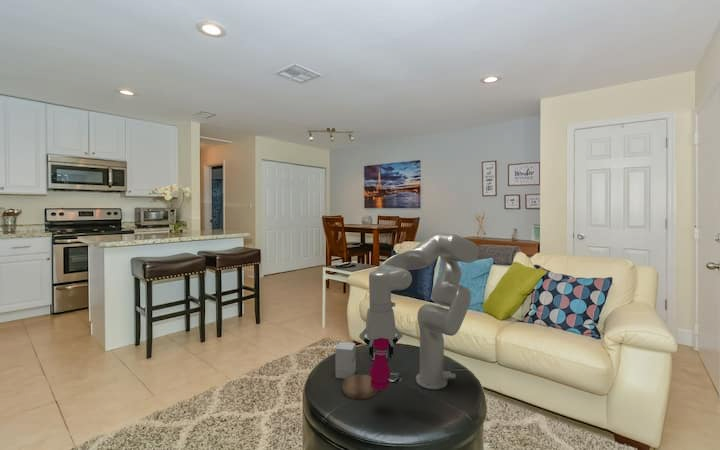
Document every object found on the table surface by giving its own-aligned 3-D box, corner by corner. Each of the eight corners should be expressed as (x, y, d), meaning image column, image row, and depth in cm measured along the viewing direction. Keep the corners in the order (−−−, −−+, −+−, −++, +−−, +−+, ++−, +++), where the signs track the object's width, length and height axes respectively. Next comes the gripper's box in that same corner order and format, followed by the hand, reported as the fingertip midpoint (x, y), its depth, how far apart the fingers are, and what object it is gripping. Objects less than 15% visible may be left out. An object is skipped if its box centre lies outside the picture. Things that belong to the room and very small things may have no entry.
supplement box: (352, 379, 147) (352, 350, 146) (335, 378, 149) (334, 348, 148) (356, 371, 155) (355, 342, 154) (339, 369, 156) (339, 341, 155)
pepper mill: (365, 386, 125) (367, 330, 124) (376, 378, 131) (378, 324, 130) (383, 393, 121) (385, 335, 120) (393, 384, 127) (395, 329, 126)
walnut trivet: (377, 379, 147) (377, 374, 147) (379, 399, 133) (379, 392, 133) (343, 380, 147) (342, 374, 146) (341, 399, 133) (341, 393, 133)
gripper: (403, 302, 128) (404, 351, 130) (355, 303, 128) (356, 352, 129) (406, 309, 120) (407, 360, 122) (355, 310, 120) (356, 362, 122)
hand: (381, 355), depth 126 cm, fingers closed on pepper mill, 5 cm apart
